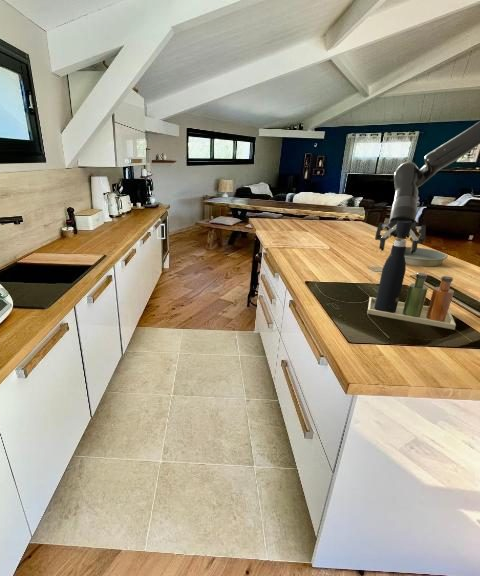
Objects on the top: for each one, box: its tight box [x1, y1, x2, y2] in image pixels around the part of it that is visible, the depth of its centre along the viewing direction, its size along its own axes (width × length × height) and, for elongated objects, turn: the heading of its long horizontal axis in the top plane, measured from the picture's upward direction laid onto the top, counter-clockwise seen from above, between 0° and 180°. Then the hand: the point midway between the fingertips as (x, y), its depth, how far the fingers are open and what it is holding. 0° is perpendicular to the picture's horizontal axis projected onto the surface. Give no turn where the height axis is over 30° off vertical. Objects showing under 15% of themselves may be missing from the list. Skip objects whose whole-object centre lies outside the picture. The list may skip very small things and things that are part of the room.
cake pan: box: [389, 246, 448, 268], centre depth 162 cm, size 25×25×4 cm
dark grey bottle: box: [374, 221, 412, 313], centre depth 102 cm, size 6×6×30 cm
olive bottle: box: [402, 272, 429, 317], centre depth 101 cm, size 5×5×14 cm
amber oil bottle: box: [426, 275, 455, 322], centre depth 98 cm, size 5×5×14 cm
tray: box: [366, 296, 457, 330], centre depth 104 cm, size 23×12×2 cm, turn 60°
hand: (397, 250), depth 105 cm, fingers open, 8 cm apart
